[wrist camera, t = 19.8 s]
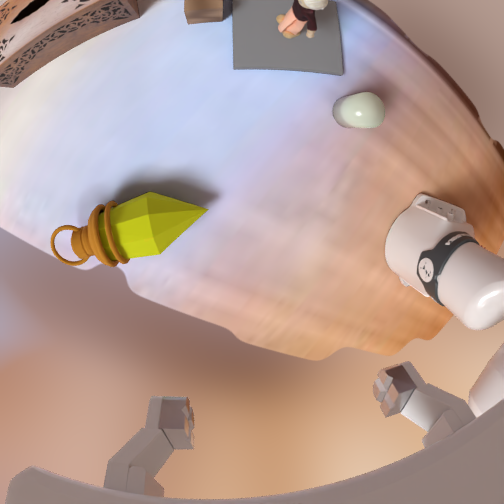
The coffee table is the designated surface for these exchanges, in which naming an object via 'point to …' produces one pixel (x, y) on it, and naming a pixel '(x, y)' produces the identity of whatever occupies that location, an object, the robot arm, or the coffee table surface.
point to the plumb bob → (130, 229)
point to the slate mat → (284, 39)
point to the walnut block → (203, 11)
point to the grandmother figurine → (300, 18)
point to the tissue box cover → (52, 31)
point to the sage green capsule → (359, 111)
